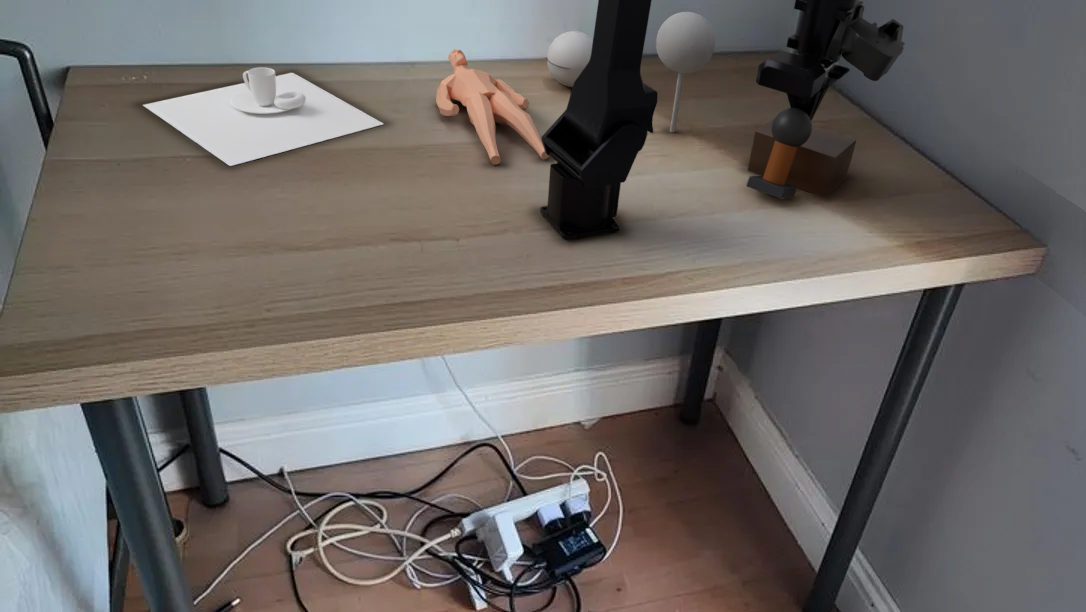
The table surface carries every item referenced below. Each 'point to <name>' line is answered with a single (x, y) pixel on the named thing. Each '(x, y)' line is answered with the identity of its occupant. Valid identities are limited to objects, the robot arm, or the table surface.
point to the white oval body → (569, 56)
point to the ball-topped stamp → (783, 153)
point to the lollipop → (684, 48)
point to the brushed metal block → (808, 159)
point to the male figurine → (486, 105)
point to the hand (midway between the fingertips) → (801, 129)
